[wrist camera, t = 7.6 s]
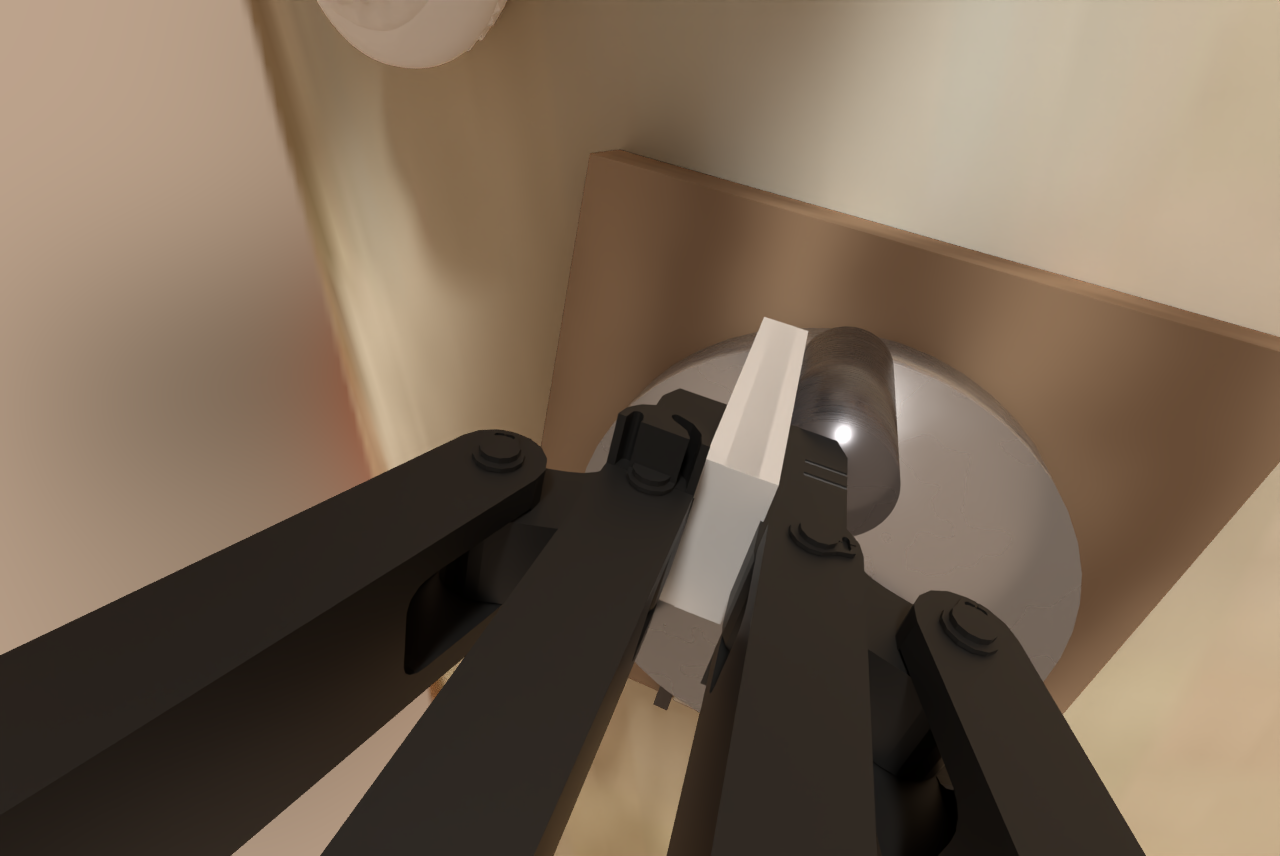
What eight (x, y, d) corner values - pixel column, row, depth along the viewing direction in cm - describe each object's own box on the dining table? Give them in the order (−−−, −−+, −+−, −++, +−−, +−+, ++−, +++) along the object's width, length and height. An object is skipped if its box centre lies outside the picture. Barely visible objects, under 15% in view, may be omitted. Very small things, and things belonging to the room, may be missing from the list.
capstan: (537, 554, 26) (414, 710, 19) (739, 224, 18) (653, 290, 11) (863, 779, 25) (858, 1024, 18) (1219, 539, 17) (1438, 811, 11)
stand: (536, 590, 31) (502, 637, 28) (619, 149, 21) (578, 154, 18) (958, 771, 27) (967, 847, 24) (1296, 341, 17) (1377, 385, 15)
